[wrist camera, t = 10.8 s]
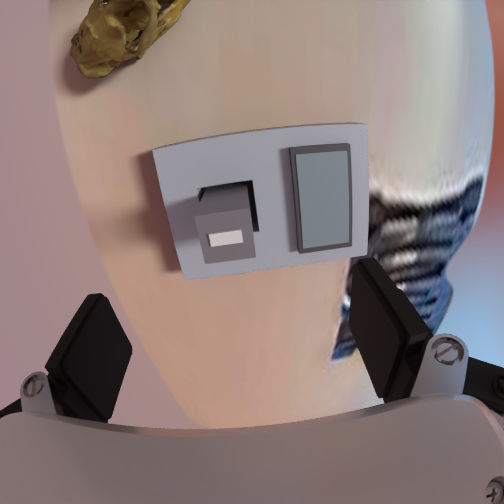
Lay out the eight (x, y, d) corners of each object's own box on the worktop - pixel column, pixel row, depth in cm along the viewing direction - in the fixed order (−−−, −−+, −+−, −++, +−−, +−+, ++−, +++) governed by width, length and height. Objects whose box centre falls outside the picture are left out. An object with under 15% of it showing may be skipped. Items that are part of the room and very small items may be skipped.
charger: (246, 180, 28) (249, 209, 20) (251, 216, 30) (256, 258, 22) (207, 186, 28) (193, 217, 20) (213, 222, 30) (204, 265, 22)
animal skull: (258, -15, 16) (214, -33, 10) (152, 75, 26) (90, 103, 19) (201, -66, 12) (139, -88, 6) (109, 28, 22) (43, 46, 15)
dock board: (354, 122, 26) (370, 124, 22) (357, 243, 32) (370, 259, 29) (160, 146, 26) (149, 151, 23) (188, 266, 33) (183, 285, 29)
